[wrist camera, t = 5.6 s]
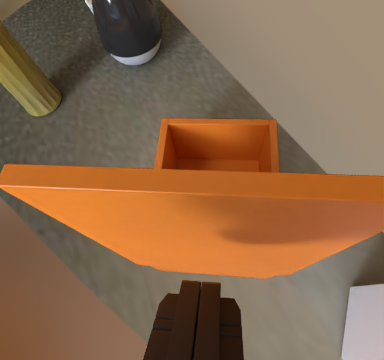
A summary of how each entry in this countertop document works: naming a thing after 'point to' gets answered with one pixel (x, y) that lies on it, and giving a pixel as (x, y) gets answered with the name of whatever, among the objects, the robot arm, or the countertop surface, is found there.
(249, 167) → the box
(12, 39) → the vase
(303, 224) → the lid
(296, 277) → the countertop surface
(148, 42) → the dark rounded cone
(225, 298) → the robot arm
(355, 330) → the milk carton
